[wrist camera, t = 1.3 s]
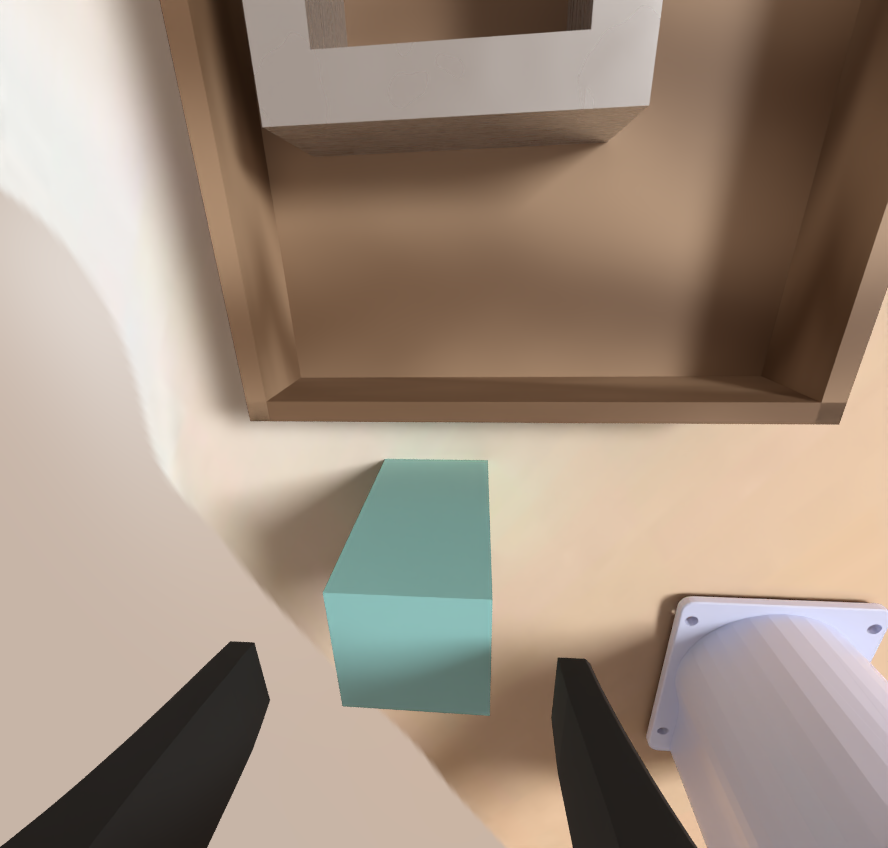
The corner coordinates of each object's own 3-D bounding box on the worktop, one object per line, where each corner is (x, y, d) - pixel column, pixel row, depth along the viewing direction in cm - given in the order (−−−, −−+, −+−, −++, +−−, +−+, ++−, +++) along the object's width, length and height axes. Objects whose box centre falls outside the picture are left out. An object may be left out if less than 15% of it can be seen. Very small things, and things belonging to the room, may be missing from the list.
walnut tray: (757, 385, 14) (838, 424, 11) (298, 386, 15) (250, 420, 12) (1017, -599, 7) (1439, -1268, 4) (162, -445, 9) (-24, -855, 5)
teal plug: (486, 545, 18) (489, 716, 11) (392, 542, 18) (342, 706, 11) (487, 460, 16) (492, 599, 10) (385, 458, 16) (322, 592, 10)
